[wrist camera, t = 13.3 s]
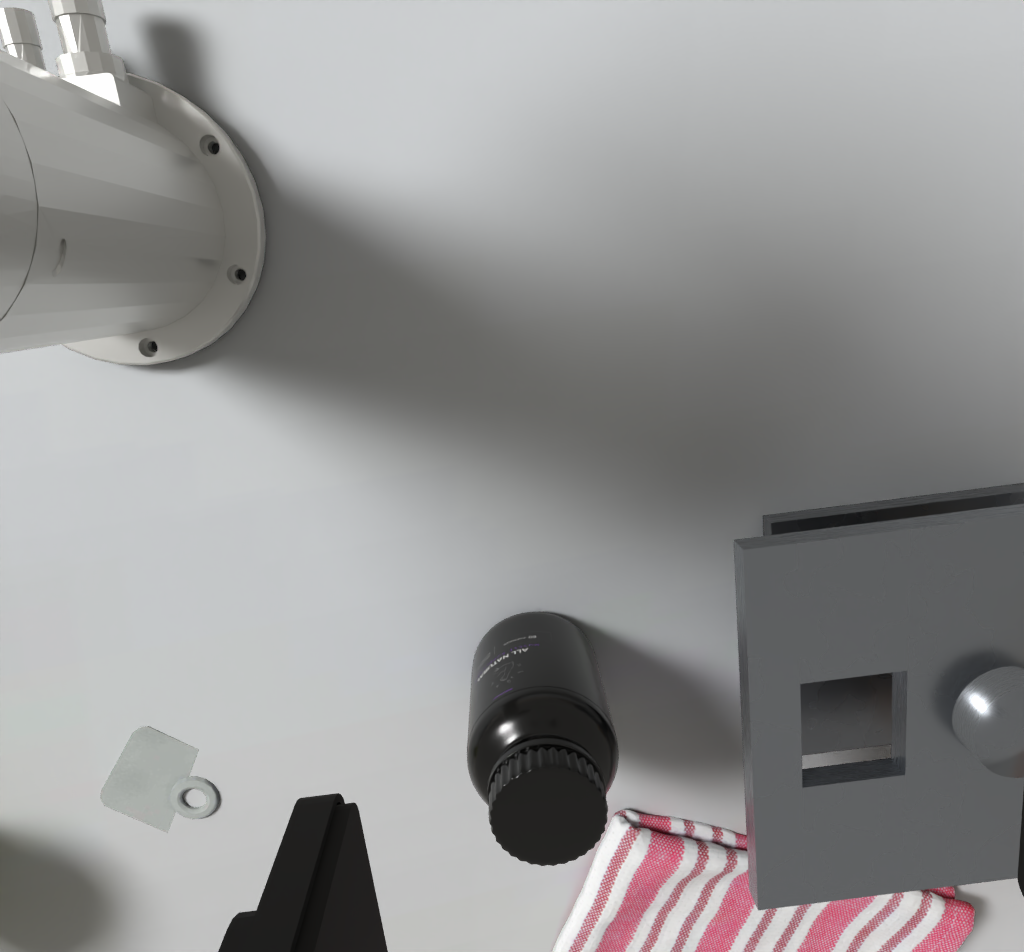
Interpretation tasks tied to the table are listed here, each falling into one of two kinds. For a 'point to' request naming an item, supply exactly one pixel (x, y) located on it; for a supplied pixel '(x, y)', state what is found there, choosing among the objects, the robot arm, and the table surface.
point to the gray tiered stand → (883, 695)
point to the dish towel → (733, 902)
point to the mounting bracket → (156, 780)
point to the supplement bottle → (541, 738)
